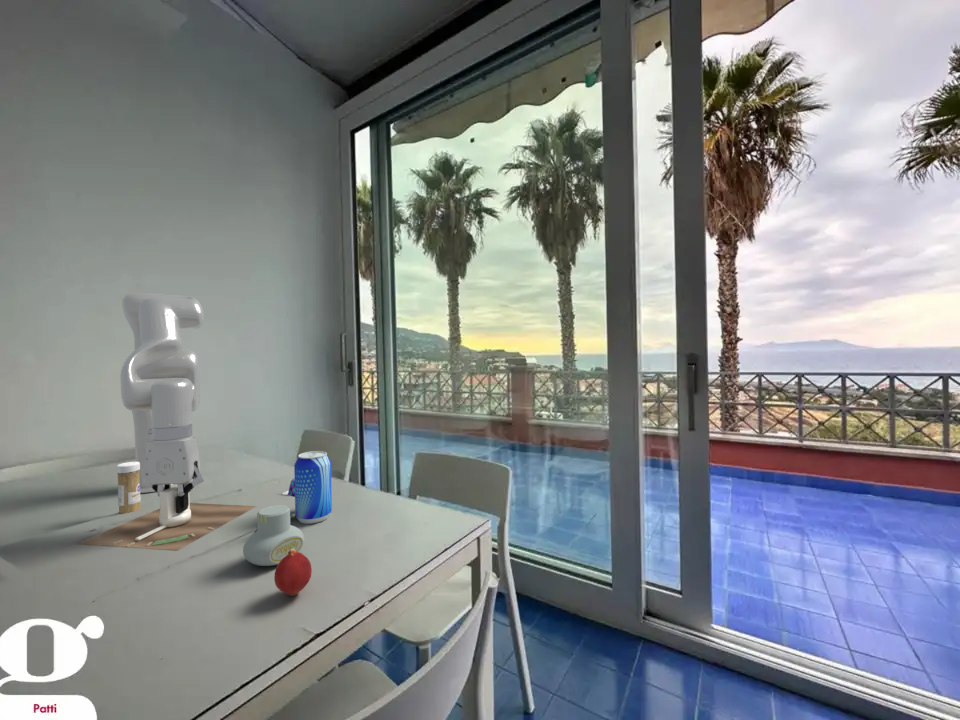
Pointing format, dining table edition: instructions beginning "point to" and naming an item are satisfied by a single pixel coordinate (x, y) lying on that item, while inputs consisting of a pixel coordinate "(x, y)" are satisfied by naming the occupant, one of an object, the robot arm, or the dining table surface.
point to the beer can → (313, 487)
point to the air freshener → (272, 537)
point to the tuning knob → (169, 511)
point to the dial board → (169, 528)
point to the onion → (293, 573)
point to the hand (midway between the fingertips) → (175, 510)
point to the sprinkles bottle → (128, 487)
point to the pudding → (291, 489)
